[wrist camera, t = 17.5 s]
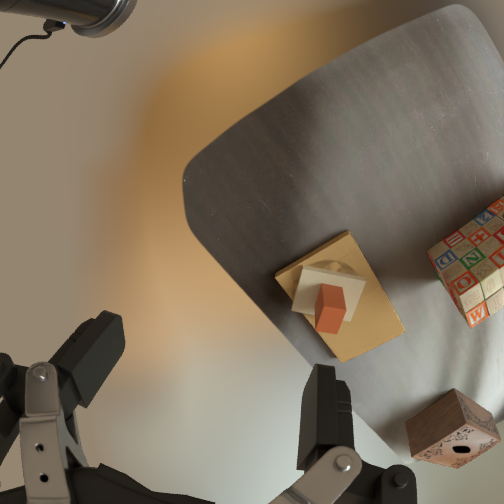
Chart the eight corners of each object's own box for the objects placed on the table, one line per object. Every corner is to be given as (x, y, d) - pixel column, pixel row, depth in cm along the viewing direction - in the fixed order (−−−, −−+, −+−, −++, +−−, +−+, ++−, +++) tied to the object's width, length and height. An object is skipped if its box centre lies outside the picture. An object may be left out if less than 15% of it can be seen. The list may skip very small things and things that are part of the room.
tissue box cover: (491, 413, 52) (501, 440, 43) (451, 441, 58) (457, 468, 49) (454, 388, 49) (466, 423, 40) (405, 422, 55) (411, 457, 46)
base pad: (274, 273, 44) (273, 278, 42) (347, 229, 39) (349, 233, 38) (340, 357, 49) (340, 363, 47) (403, 326, 44) (405, 332, 43)
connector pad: (292, 301, 45) (289, 335, 38) (302, 260, 42) (302, 290, 35) (348, 311, 44) (354, 346, 37) (363, 272, 41) (373, 304, 34)
